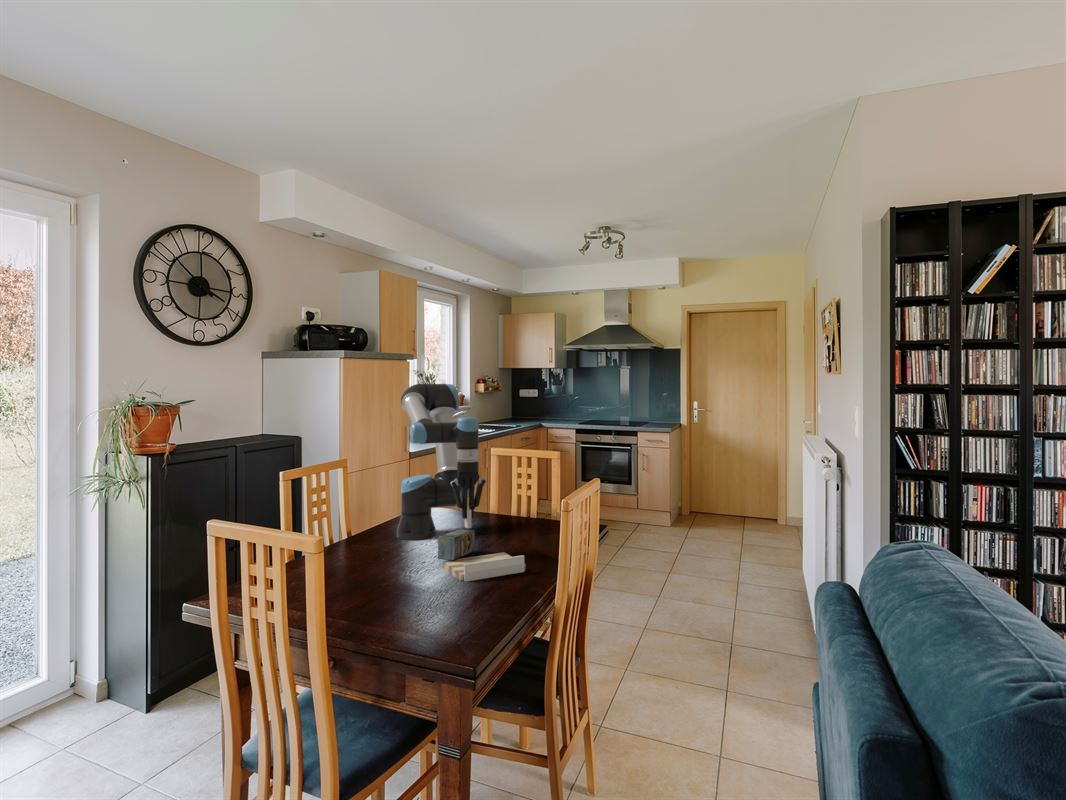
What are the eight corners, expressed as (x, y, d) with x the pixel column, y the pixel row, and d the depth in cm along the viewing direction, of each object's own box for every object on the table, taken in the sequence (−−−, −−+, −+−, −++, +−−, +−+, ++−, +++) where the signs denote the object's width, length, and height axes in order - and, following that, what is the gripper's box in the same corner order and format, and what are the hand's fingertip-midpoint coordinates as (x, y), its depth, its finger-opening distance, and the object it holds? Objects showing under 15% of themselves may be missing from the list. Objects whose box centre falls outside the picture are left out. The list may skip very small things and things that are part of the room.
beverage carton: (453, 561, 178) (434, 559, 180) (475, 552, 196) (458, 550, 198) (454, 536, 178) (436, 535, 180) (476, 529, 197) (459, 528, 199)
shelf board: (443, 567, 179) (443, 561, 179) (504, 558, 189) (504, 552, 189) (460, 581, 165) (460, 574, 165) (525, 570, 175) (525, 564, 175)
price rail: (463, 580, 165) (463, 564, 165) (522, 571, 175) (522, 555, 175) (465, 581, 164) (465, 565, 164) (524, 572, 174) (524, 556, 174)
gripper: (454, 462, 189) (454, 531, 189) (489, 460, 195) (489, 527, 195) (446, 460, 195) (446, 527, 195) (480, 459, 201) (480, 523, 201)
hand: (468, 527), depth 195 cm, fingers closed
